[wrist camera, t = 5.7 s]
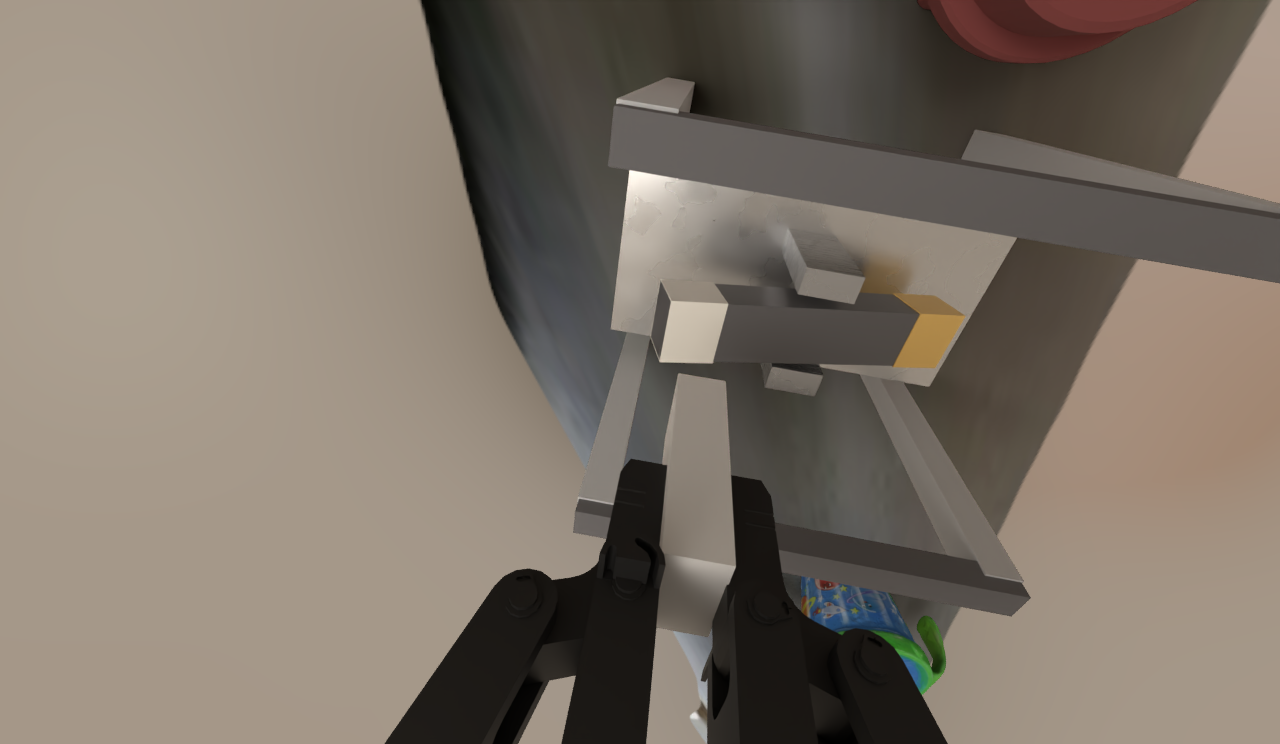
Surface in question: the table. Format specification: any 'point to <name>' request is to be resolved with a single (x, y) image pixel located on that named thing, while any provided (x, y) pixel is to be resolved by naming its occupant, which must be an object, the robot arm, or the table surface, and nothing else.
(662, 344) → the lever
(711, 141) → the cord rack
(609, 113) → the table surface
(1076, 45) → the mechanical component
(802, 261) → the grey box
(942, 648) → the snack cup
